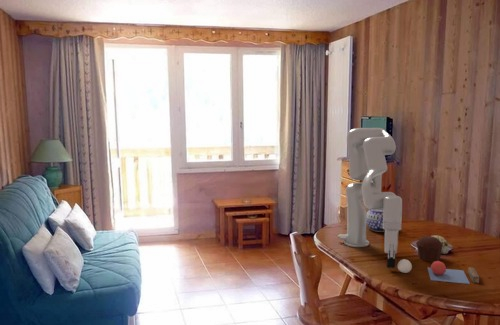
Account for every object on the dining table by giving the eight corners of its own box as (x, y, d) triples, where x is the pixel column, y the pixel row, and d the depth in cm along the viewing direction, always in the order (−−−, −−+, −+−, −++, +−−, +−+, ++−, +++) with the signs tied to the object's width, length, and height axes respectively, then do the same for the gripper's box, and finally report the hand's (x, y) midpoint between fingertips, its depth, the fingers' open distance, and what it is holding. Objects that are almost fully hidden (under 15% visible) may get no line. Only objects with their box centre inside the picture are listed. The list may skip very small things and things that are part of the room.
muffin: (441, 264, 182) (441, 242, 181) (414, 260, 188) (414, 238, 187) (443, 256, 193) (444, 235, 192) (417, 252, 198) (418, 232, 197)
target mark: (430, 280, 165) (430, 279, 165) (427, 267, 179) (427, 267, 179) (469, 284, 161) (470, 283, 161) (463, 270, 174) (463, 270, 174)
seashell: (453, 252, 195) (444, 234, 194) (433, 261, 197) (424, 242, 196) (446, 244, 205) (438, 227, 204) (428, 252, 207) (419, 235, 206)
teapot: (362, 223, 251) (362, 199, 249) (388, 223, 249) (389, 199, 247) (368, 235, 226) (369, 208, 224) (398, 236, 224) (398, 209, 222)
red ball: (443, 261, 167) (449, 274, 167) (440, 257, 173) (447, 269, 173) (429, 266, 169) (436, 279, 169) (427, 262, 174) (433, 274, 174)
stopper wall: (473, 282, 163) (473, 276, 162) (468, 273, 172) (468, 267, 172) (478, 283, 162) (479, 276, 162) (473, 273, 171) (473, 267, 171)
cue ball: (407, 262, 169) (413, 273, 170) (408, 255, 174) (414, 266, 175) (394, 265, 172) (400, 277, 173) (395, 258, 177) (401, 269, 178)
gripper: (382, 220, 182) (381, 260, 185) (382, 229, 168) (381, 272, 170) (400, 221, 180) (399, 261, 182) (402, 230, 166) (401, 274, 168)
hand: (390, 266), depth 176 cm, fingers closed
